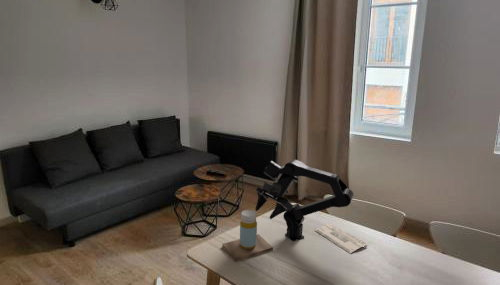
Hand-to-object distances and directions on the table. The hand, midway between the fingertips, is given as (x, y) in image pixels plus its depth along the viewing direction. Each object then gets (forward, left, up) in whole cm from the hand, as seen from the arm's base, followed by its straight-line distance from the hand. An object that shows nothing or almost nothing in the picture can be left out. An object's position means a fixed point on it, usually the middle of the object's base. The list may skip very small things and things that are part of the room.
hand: (262, 214), depth 148 cm
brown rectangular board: (+8, +1, -14) cm, 16 cm away
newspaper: (-34, +13, -14) cm, 39 cm away
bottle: (+8, +1, -12) cm, 15 cm away
